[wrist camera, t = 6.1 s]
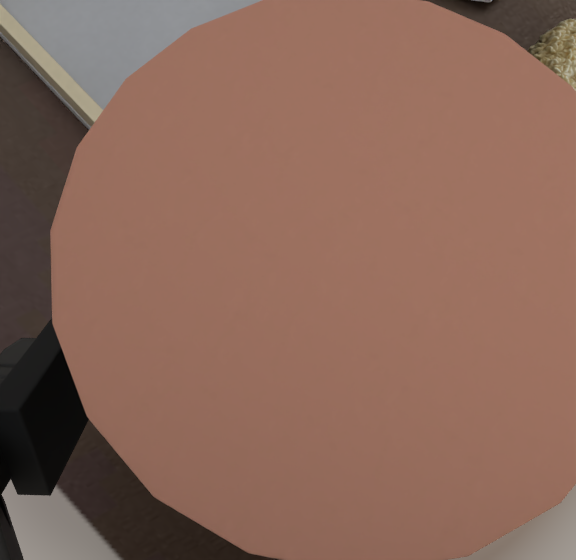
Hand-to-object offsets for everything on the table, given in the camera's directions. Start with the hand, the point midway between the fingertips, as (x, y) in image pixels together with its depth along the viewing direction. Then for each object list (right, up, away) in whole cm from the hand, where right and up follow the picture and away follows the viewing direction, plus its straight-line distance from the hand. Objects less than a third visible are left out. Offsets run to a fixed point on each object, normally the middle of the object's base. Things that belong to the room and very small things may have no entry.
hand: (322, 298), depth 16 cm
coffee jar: (0, -3, +10) cm, 11 cm away
